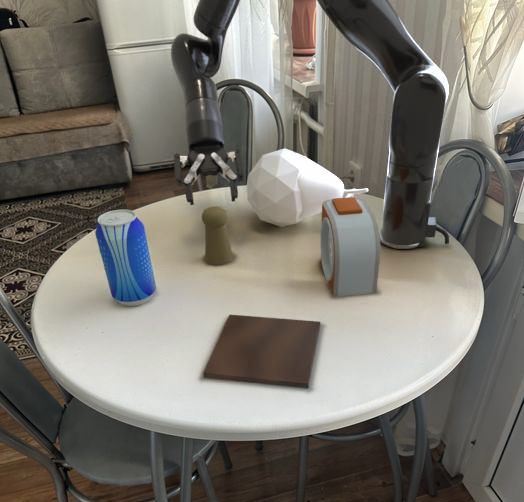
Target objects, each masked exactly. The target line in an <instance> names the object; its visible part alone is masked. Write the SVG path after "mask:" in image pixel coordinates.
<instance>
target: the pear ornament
mask: <svg viewBox="0 0 524 502" xmlns="http://www.w3.org/2000/svg"><path fill="white" fill-rule="evenodd" d="M368 192H369V188H367V187H365V188H359V189H358V188H357V189H356V188H351V189H345V185H344V182H342V180H341V179H340V178H339V177H337V176H336V175H335V174H334V173H332V172H330V171H329V170H327V169H326V168H325V167H323V166H321V165H320V164H318V163H316V162H315V161H313V160H311V159H310V158H308V157H307V156H304V155H302V154H300V153H298V152H296V151H292V150H290V149H288V148H286V147H285V148H281V149H278V150H274V151H271V152H268V153H264V154H262V155H261V156H260V158H259V159H258V161H257V162H256V164H255V165H254V167H252V169H251V171H250V172H249V173H248V175H247V181H246V198H247V202H248V203H249V204H250V206H251V208H252V209H253V210H254V212H255V214H256V216H258V218H259V220H260V221H263V222H266V223H268V224H271V225H274V226H277V227H280V228H284V227H287V226H292V225H295V224H297V223H300V222H302V221H305V220H307V219H309V218H311V217H314V216H316V215H318V214H320V213H322V203H323V202H324V201H326V200H331V199H335V198H344V195H346V196H345V198H347V197H354V195H356V194H365V193H368Z"/></svg>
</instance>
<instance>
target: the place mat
mask: <svg viewBox="0 0 524 502" xmlns="http://www.w3.org/2000/svg"><path fill="white" fill-rule="evenodd" d="M320 330H321V321H318V320H306V319H294V318H293V319H292V318H280V317H266V316H252V315H241V314H240V315H239V314H229V315H228V316H227V319H226V321H225V323H224V326H223V327H222V330H221V332H220V334H219V336H218V339H217V341H216V343H215V345H214V348H213V350H212V351H211V355H210V357H209V358H208V361H207V364H206V366H205V368H204V370H203V372H202V374H203V378H205V379H214V380H224V381H231V382H232V381H233V382H242V383H243V382H244V383H253V384H263V385H273V386H280V387H281V386H282V387H283V386H284V387H290V388H291V387H292V388H300V389H301V388H302V389H309V388H310V383H311V376H312V370H313V367H314V366H313V365H314V361H315V356H316V350H317V346H318V339H319V335H320Z"/></svg>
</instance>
